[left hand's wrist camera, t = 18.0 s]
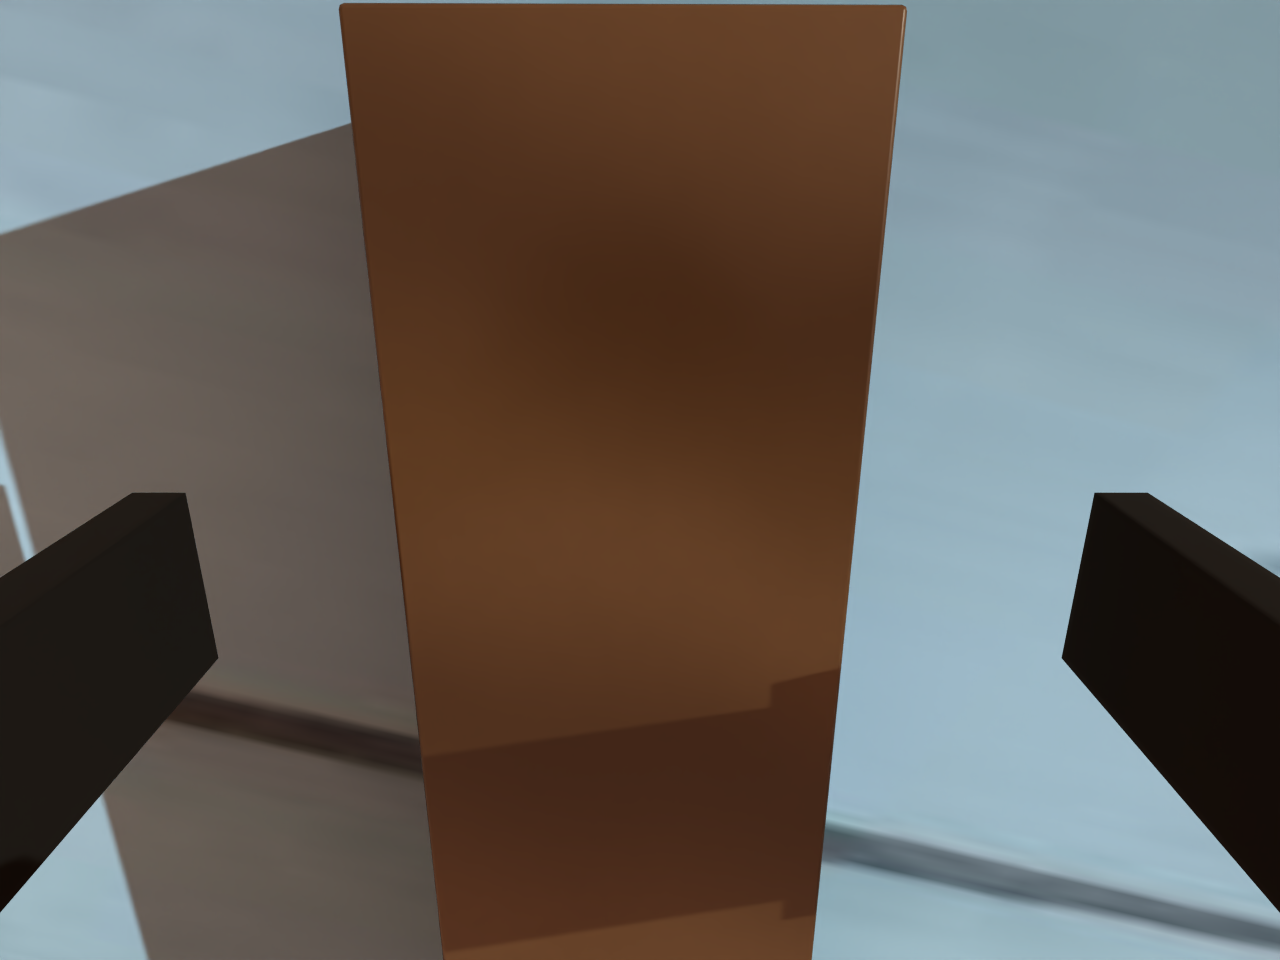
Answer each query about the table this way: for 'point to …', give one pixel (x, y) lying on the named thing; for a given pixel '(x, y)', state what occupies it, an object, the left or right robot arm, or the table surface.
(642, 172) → the post
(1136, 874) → the table surface
